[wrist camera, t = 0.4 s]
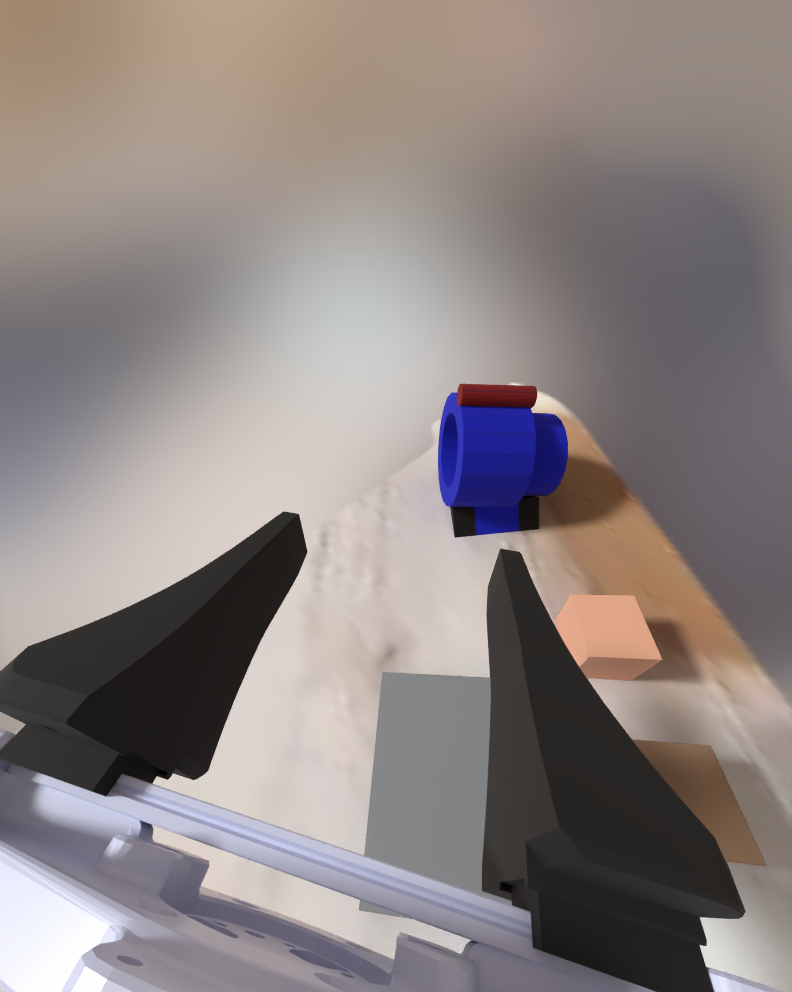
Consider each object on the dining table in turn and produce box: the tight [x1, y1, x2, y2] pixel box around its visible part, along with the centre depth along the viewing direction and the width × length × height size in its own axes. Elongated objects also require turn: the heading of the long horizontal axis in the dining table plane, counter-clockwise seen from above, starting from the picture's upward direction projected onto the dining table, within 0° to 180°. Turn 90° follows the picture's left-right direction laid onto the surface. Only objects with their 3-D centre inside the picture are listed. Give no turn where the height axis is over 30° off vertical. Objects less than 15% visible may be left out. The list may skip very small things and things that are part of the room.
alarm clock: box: [438, 384, 568, 537], centre depth 35 cm, size 12×12×15 cm
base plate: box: [359, 672, 512, 919], centre depth 22 cm, size 12×12×2 cm
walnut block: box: [632, 740, 766, 866], centre depth 19 cm, size 4×4×5 cm
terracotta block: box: [556, 595, 662, 680], centre depth 25 cm, size 4×4×5 cm
